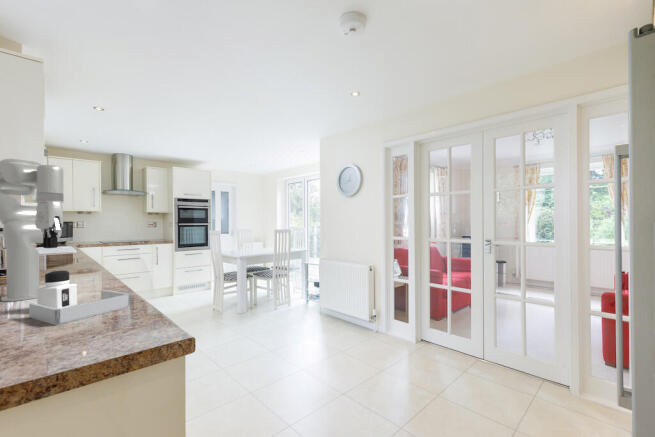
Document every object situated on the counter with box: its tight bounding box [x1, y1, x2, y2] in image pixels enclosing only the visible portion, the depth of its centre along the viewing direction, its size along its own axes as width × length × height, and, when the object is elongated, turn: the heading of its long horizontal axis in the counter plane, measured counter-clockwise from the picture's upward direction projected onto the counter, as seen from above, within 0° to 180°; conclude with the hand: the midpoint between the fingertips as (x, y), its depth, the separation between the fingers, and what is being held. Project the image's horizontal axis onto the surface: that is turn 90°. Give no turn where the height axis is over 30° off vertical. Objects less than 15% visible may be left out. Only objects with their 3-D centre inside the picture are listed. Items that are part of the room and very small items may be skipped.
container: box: [36, 270, 78, 309], centre depth 109 cm, size 8×8×13 cm
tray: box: [28, 289, 132, 326], centre depth 105 cm, size 17×22×4 cm
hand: (50, 247), depth 115 cm, fingers closed
